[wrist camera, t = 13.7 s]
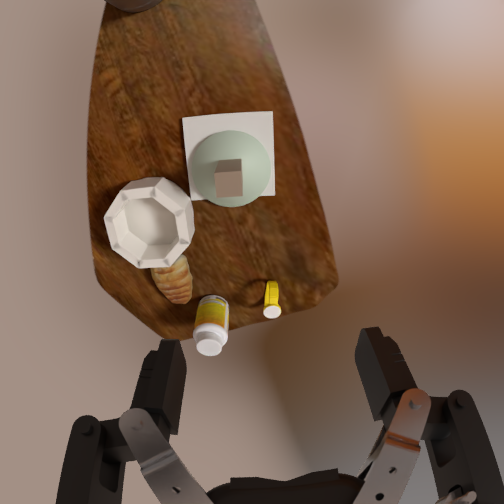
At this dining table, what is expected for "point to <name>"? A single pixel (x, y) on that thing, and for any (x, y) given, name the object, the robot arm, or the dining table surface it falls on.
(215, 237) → the dining table surface
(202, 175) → the lid
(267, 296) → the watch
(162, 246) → the bowl
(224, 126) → the mat
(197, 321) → the supplement bottle
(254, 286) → the dining table surface
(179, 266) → the pastry
